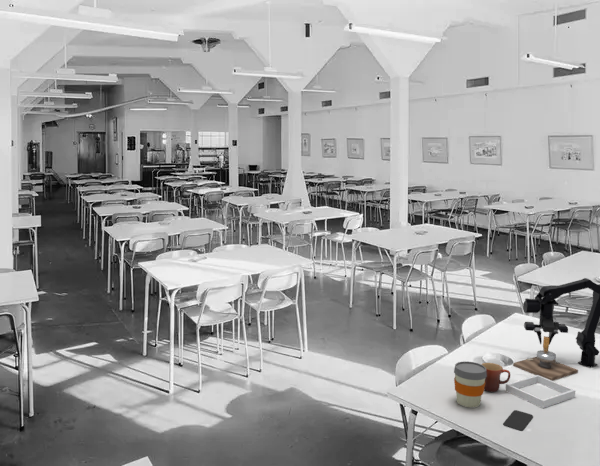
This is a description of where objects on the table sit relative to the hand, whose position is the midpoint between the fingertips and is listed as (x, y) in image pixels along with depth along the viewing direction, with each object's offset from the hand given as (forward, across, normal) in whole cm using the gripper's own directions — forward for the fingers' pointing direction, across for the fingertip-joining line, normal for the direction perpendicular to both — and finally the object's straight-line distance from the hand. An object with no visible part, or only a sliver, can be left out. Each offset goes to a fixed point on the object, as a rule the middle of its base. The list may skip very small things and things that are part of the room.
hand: (544, 344), depth 263 cm
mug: (+9, -27, -39) cm, 49 cm away
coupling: (+4, 0, -6) cm, 7 cm away
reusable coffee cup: (+9, -39, -55) cm, 68 cm away
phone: (+10, -21, -66) cm, 70 cm away
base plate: (+9, -1, -9) cm, 13 cm away
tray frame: (+10, -9, -38) cm, 40 cm away
